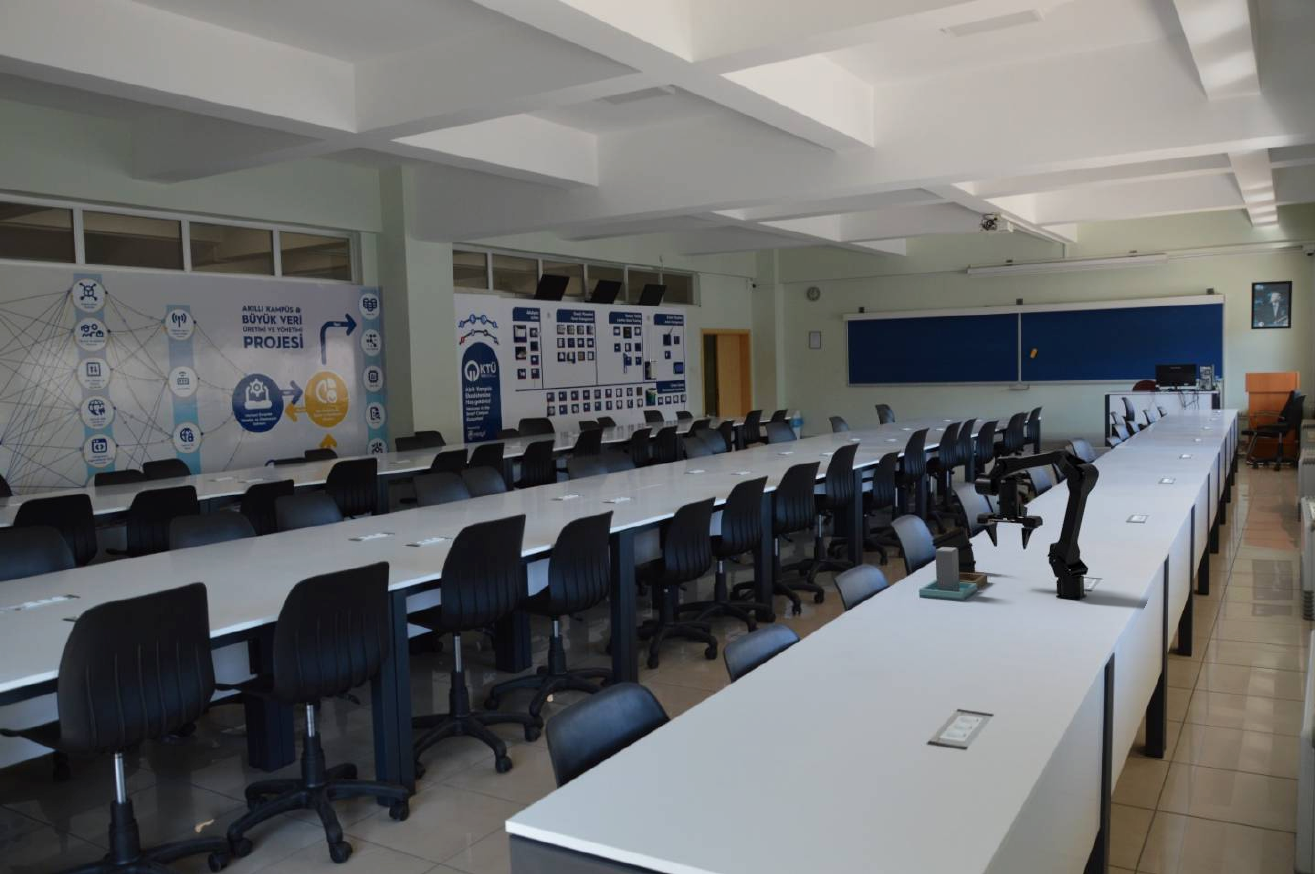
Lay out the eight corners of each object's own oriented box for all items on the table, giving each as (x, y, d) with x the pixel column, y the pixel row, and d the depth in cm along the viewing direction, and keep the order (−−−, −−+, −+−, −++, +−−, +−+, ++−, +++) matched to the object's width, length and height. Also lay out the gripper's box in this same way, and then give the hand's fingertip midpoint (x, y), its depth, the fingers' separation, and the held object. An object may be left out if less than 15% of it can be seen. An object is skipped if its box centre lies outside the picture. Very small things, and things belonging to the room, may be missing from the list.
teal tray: (977, 591, 296) (976, 583, 295) (962, 601, 285) (962, 593, 284) (935, 587, 303) (934, 580, 303) (919, 597, 292) (919, 589, 292)
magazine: (983, 569, 318) (961, 527, 320) (946, 584, 324) (925, 543, 326) (985, 566, 321) (963, 525, 323) (949, 581, 327) (928, 541, 330)
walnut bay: (987, 582, 306) (986, 557, 306) (976, 590, 297) (975, 564, 296) (952, 579, 313) (951, 555, 312) (940, 587, 303) (939, 561, 303)
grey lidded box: (959, 590, 295) (957, 547, 294) (953, 594, 290) (951, 551, 289) (943, 588, 298) (941, 546, 297) (937, 592, 293) (935, 550, 292)
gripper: (1049, 495, 296) (1051, 546, 297) (991, 492, 309) (993, 541, 310) (1033, 500, 288) (1035, 552, 289) (974, 497, 302) (976, 546, 303)
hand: (1010, 547), depth 298 cm, fingers open, 9 cm apart
